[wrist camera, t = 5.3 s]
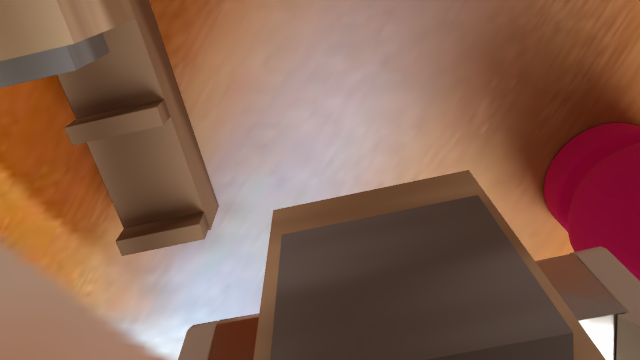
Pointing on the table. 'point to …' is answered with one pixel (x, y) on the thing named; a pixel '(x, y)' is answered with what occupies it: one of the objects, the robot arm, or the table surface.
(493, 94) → the table surface
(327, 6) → the table surface
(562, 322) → the grey-banded wooden block
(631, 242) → the pepper mill
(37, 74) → the rail
